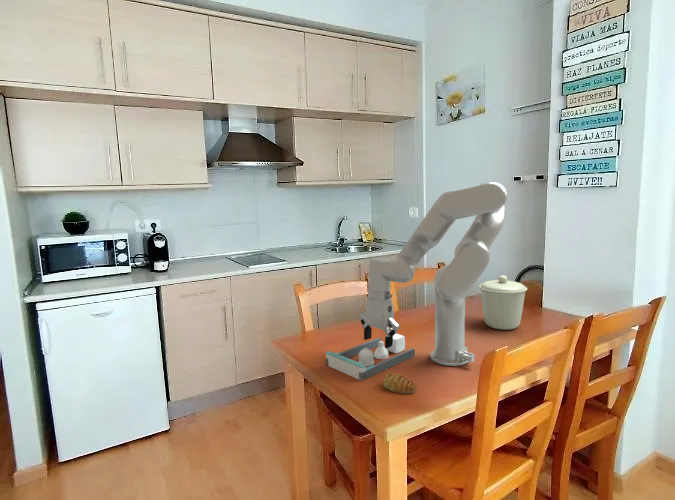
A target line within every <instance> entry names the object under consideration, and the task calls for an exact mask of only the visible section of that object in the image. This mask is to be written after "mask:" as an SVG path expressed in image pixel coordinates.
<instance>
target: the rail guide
mask: <svg viewBox="0 0 675 500" xmlns="http://www.w3.org/2000/svg"><path fill="white" fill-rule="evenodd" d="M379 341H382V337H377V338H374V339H372V340H371V339H370V340H369V341H366V342H364V343H361V344H358V345H356V346H353V347H351V348H348V349H345V350H343V351H341V352H340V351H339V352H334V351H332V350H329V351H327V352H325V365H326V366H328V367H329V368H332V369H334V370H337V371H338V372H340V373H343V374H346V375H348V376H350V377H352V378H355V379H357V380H359V381H364V380H367V379H369V378H371V377H373V376H375V375H377V374H379V373H382V372H383V371H386V370H388V369H390V368H392V367H394V366H396V365H399V364H401V363H403V362H405V361H407V360H409V359H411V358H413V357H415V356H416V352H415V351H416V349H415V348H414V347H413V348H409V349H407V350H405V351H404V350H403V351H401V352H399V353H396V354H395V355H393V356H390V357H388V358H386V359H383V360H382V361H380V362H377V363H374V364H373V365H371V366H366V365H364V364H361V363H359V362H358V361H356V360H354V359H352V357H354V356H357V355H359V353H360V351H361V350H362V349H364V348H367V349H369V350H372V349H374V348H375V349H376V348H377V347H378V342H379Z"/></svg>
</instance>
